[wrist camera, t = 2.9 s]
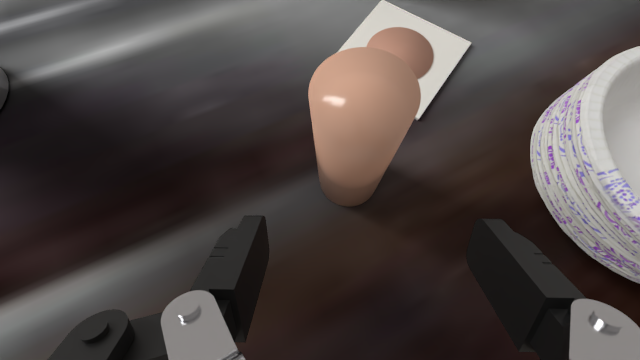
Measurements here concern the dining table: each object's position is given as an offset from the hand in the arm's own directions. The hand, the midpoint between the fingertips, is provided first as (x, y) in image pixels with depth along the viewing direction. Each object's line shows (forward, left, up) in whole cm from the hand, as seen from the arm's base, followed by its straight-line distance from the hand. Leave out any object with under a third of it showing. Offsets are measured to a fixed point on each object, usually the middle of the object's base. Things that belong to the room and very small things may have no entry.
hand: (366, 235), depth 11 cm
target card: (-6, +18, -11) cm, 22 cm away
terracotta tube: (-3, +5, -11) cm, 13 cm away
